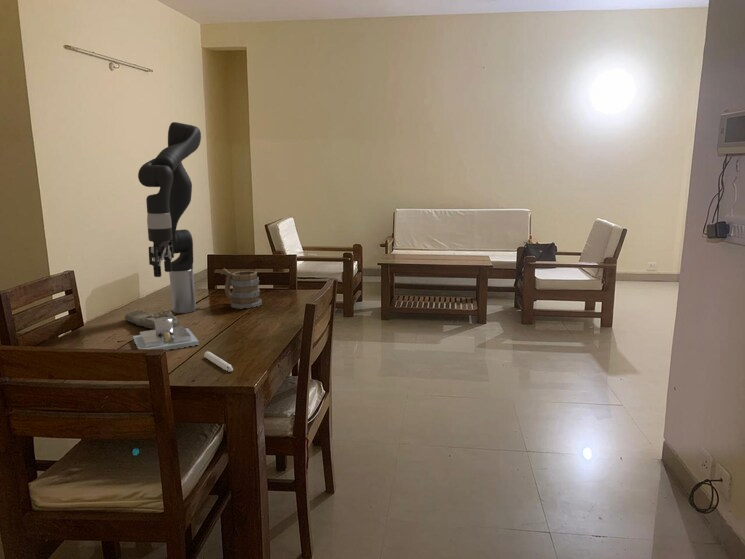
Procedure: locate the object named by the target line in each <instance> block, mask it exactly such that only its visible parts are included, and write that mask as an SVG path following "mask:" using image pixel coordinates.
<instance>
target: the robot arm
mask: <svg viewBox="0 0 745 559" xmlns="http://www.w3.org/2000/svg"><path fill="white" fill-rule="evenodd" d="M201 140H202V132H201V130H200V128H199V127H198V126H195V125H192V124H187V123H181V122H176V121H174V122H171V123H170V124H169V127H168V130H167V147H165V148H163V149H162V150H161V151H160V152H159V153H158V154H157V156H156V157H155V158H153V159H151V160H148V161H147V162H145V163H144V164H142V165H141V167H139V169H138V172H137V177H138V178H137V179H138V182H139V183H140V184H141V185H142V186H144V187H147V188H159V190H158V192H157V193H154V194H149V195H147V196H146V200H145V202H146V214H147V216H146V225H147V234H148V235H147V237H148V238H147V239H148V241H149V242H153V243H152V246H148V263H149V264H148V265H150V266H152V267H153V277H155V278H161V277H162V266H161V264H162V261H163V266H164V272H165V273H168V274H169V286H170V296H171V298H170V299H171V306H172V313H174V314H186V313H192V312H195V311H196V310H197V303H196V302H197V301H196V290H195V279H194V278H195V277H194V240H193V236H192V233H191V231H190V230H188V229H177V228H178V223H179V220H180V218H181V217H182V215H183V214H184V212H185V211H186V210H187V208H188V207H189V205H190V204H191V201H192V193H193V192H192V191H193V183H192V181H191V178H190V176H189V174H188V171H186V168H185V167H184V165H183V163H182V162H183V160H185V159H187V158H188V157H190V155H191V154H193V153H194V152H196V151H197V150H198V149H199V147H200V144H201ZM176 254H179V255H178V257H177V258H176V259H174V257H175V255H176ZM172 260H173V261H172Z"/></svg>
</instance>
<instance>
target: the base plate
mask: <svg viewBox="0 0 745 559" xmlns="http://www.w3.org/2000/svg"><path fill="white" fill-rule="evenodd" d="M184 328H185V327H184ZM185 329H186V330H187V332H188V333H189V334H190V335H191V341H184V342H178V343H174V342H173V341H170V333H165V342H164V345H158V346H152V347H145V345H144V343H143V341H142V339H141V337H140V334H138V335H132V338H133V339H134V340H133V343H134V344H136V345H135V346H137V347H136V348H138V349H165V350H166V351H170V350H169V349H174V350H179V349H178V348H180V349H185V348H184V347H186V348H190V347H189V346H192V347H196V346H195V345H198V346H200V341H199V340H198V338H197V337H196V336H195V335H194V333H193V332H192V331H191V329H189V328H188V327H186V328H185ZM138 349H137V350H138ZM166 351H165V352H166Z"/></svg>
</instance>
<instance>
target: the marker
mask: <svg viewBox="0 0 745 559" xmlns="http://www.w3.org/2000/svg"><path fill="white" fill-rule="evenodd" d="M203 356H204V358H205V359H207V360H209V361H210V362H212V363H213V364H214V365H215V366H218V367H219V368H221V369H222V370H224V371H225V370H226V371H225V372H227V371H228V373H230V372H233V371H234V366H232V364H230V363H228V362H227V361H225V360H224V359H222V358H220V357H219V356H217V355H215V354H214V353H212V352H211V351H204V354H203Z"/></svg>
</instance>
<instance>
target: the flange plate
mask: <svg viewBox="0 0 745 559" xmlns="http://www.w3.org/2000/svg"><path fill="white" fill-rule="evenodd" d="M165 333H170V341H173V342H174V343H178V342H184V341H191V335H190V334H189V333H188V332H187V330H186V329H185V327H184V326H183V325H178V326H177V327H173V318H171V317H162V318H157V319H155V330H154V329H150V330H143V331H139V335H140V337H141V339H142V341H143V343H144V345H145V347H152V346H158V345H164V342H165Z"/></svg>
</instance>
